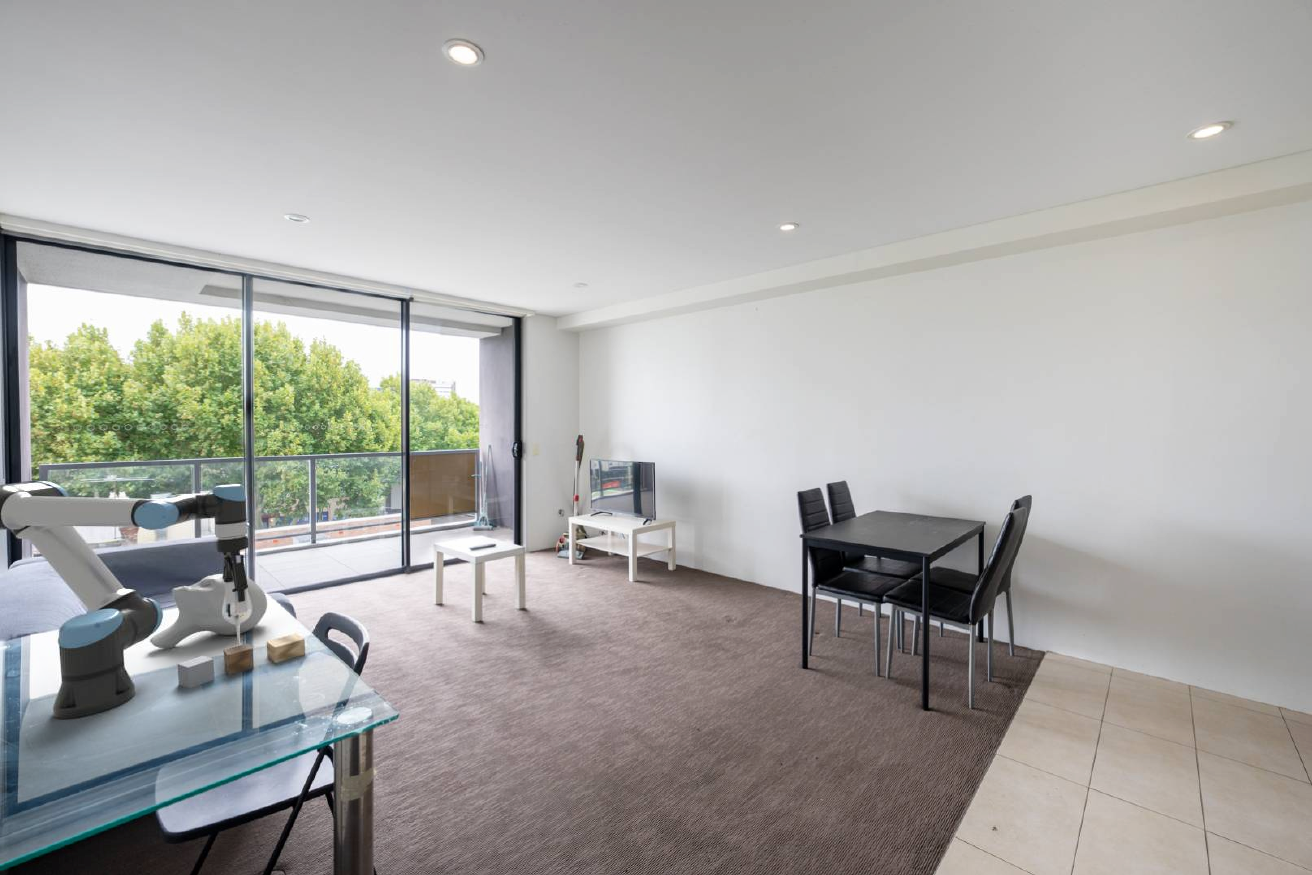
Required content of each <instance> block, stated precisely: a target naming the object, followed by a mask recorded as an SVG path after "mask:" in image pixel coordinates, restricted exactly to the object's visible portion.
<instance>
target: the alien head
mask: <svg viewBox="0 0 1312 875" xmlns="http://www.w3.org/2000/svg"><path fill="white" fill-rule="evenodd" d="M222 577H223V573H217V574H212V575H207V576H206V577H203V578H202V579H201V580H200V581H198V582H196V583H193V584H191V585H190V586H187V585H183V586H178V587H175V588H172V590H171V594H172V596H173V600H174V602H175V604H176V607H177V609H178V617H177V619H176V620H175V622H174V623H172V625H170V626H169V627H168V628H166V629H164V630H162V631H160V632H159V633H156V635H154V636H153V637H151V638H150V639H149V642H150V643H151V645H153V646H154V647H156V648H159V649H173V648H175V647H176V646H177V645H178V644H179V643H181V642H182V641H183V640H184V639H186V638H188V637H190V636H192V635H193V634H197V633H201V632H211V633H214V634H218V635H225V636H235V635H236V636H237V629H236V626H235V625H231V624H229V623H227V622H225V621H224V620H223V618H222V605H223V599H224V595H225V583H226V582H224V579H223V578H222ZM246 579H247V585H248V588H247V591H248V594H249V597H250V600H251V604H252V613H251V615H250V617H249V618H248V619H247V620H246V621H245V622H243V623H242V624H240V635H242V634H243V633H245V632H249V630H251V629H253V628H255V626H257V625H258V623H260V621H261V620H262V618H263V617H264V615H265V614H266V612H267V608H268V598H267V596H266V593H265V592H264V590H263V589H262V587H260V586H259V585H258V584H257V583H256V582H255V581H253V580H252V579H251V578H249V577H248V576H246Z"/></svg>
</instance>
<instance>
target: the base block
mask: <svg viewBox="0 0 1312 875" xmlns="http://www.w3.org/2000/svg"><path fill="white" fill-rule="evenodd" d="M266 655H267V658H268V659H270V660H271V661H273V662H274V663H275V664H278V663H280V662H284V661H286V660H291V659H293V658H297V657H299V656H300V657H301V656H303V655H306V644H305V638H304V637H302V636H301V635H299V634H297V633H293V634H289V635H286V636H282V637H278V638H275V639H271V640H268V641H266Z"/></svg>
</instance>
